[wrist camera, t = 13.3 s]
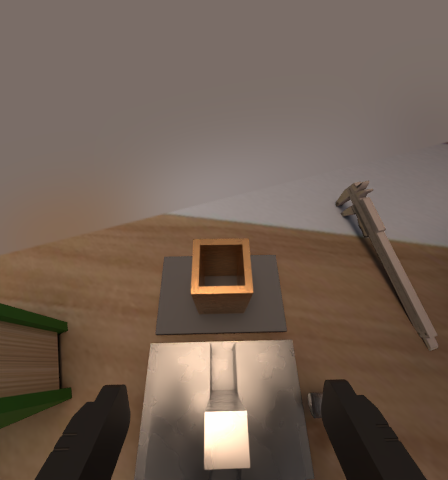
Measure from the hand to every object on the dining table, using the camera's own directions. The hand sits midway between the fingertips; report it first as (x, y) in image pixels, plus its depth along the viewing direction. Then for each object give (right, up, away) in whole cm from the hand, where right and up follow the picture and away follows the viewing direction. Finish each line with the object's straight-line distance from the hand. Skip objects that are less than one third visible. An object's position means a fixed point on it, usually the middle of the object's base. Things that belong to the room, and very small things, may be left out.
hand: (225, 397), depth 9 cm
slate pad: (0, 0, +18) cm, 18 cm away
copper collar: (0, 0, +17) cm, 17 cm away
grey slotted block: (+1, -9, +13) cm, 16 cm away
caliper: (+20, +3, +20) cm, 28 cm away
